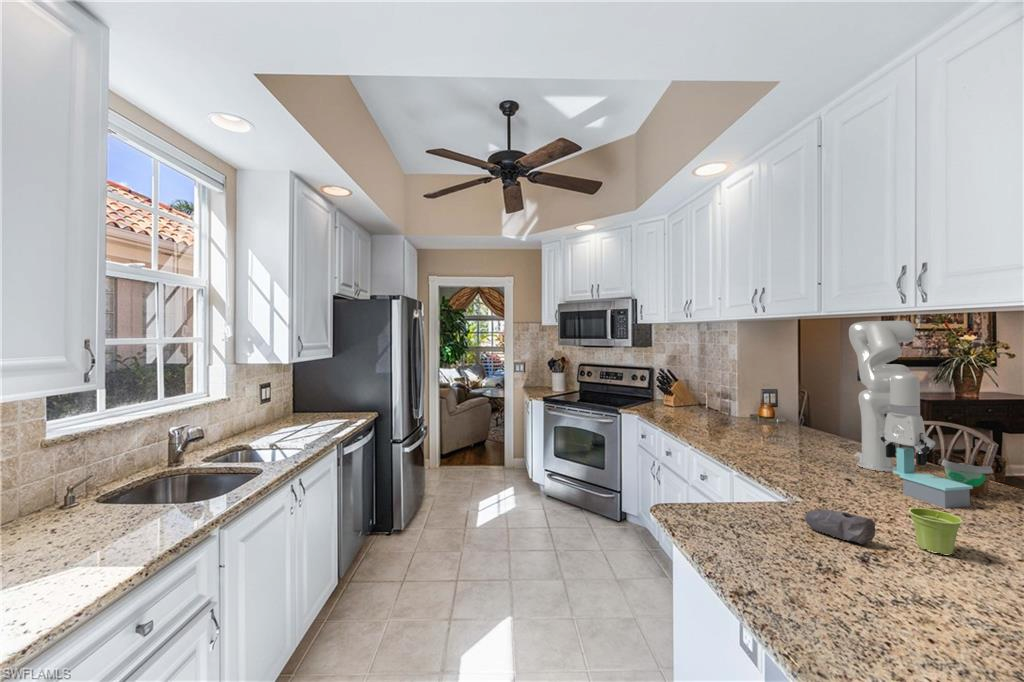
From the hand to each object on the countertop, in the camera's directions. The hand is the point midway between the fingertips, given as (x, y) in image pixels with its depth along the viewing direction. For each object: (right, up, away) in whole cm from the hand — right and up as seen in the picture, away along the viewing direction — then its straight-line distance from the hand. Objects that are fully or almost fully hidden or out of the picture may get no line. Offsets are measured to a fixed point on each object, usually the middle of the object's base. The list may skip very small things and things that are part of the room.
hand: (905, 461), depth 144 cm
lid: (+1, -5, -6) cm, 8 cm away
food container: (+19, -11, -1) cm, 21 cm away
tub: (+1, -11, -9) cm, 14 cm away
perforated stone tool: (-48, -11, -32) cm, 58 cm away
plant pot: (-29, -11, -39) cm, 50 cm away
